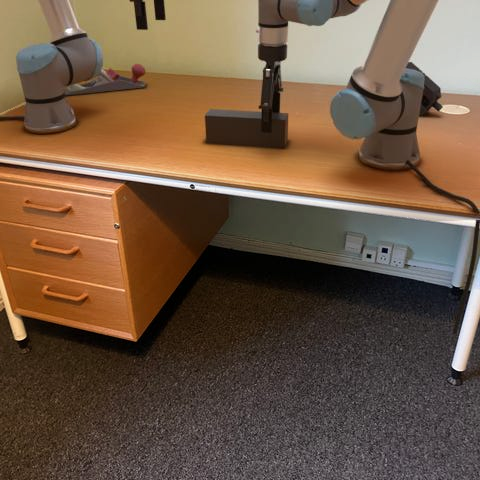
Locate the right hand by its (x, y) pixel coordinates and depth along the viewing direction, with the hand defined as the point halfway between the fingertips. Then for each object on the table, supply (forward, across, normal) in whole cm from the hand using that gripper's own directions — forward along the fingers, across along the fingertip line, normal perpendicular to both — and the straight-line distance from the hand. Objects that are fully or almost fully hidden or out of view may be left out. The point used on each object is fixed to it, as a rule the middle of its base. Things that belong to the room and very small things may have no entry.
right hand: (270, 123), depth 147 cm
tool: (+6, -35, +39) cm, 53 cm away
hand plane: (+7, -42, -70) cm, 82 cm away
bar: (+6, 0, -7) cm, 9 cm away
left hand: (-24, -1, -33) cm, 41 cm away
